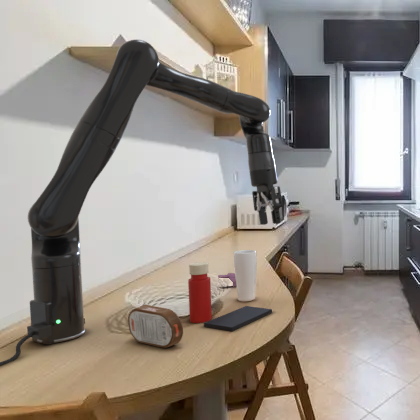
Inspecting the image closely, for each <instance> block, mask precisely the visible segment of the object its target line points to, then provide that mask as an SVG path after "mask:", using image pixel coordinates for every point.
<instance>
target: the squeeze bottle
mask: <svg viewBox="0 0 420 420" xmlns="http://www.w3.org/2000/svg"><path fill="white" fill-rule="evenodd" d="M188 267H189V270H188V271H189V275H190V278H189V279H187V284H188V309H189V310H188V311H189V313H188V314H189V322H190V323H193V324H203V323H205V322H208V321H210V320H213V319H212V318H213V315H212V314H213V312H212V288H211V287H212V286H211V283H212V282H211V277H210V276H208V274H209V262H207V261H199V262H197V261H196V262H191V263H189V264H188Z"/></svg>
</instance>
